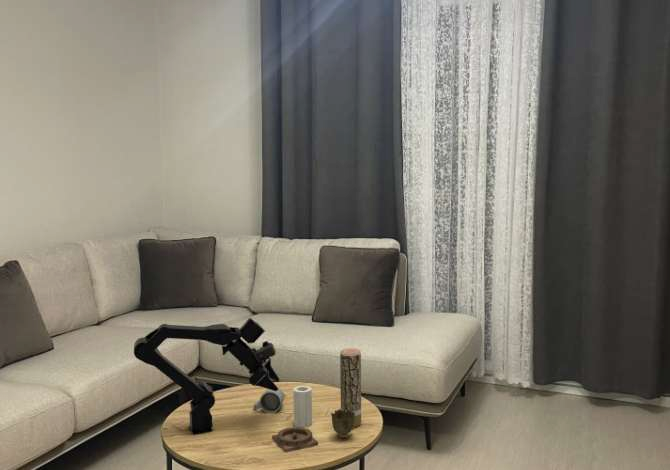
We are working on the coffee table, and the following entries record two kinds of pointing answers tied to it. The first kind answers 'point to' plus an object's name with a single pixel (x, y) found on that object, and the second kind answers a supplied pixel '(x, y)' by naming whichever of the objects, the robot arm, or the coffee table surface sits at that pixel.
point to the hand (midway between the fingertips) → (278, 385)
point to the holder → (294, 438)
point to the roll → (302, 406)
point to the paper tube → (351, 382)
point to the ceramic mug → (270, 401)
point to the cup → (343, 422)
